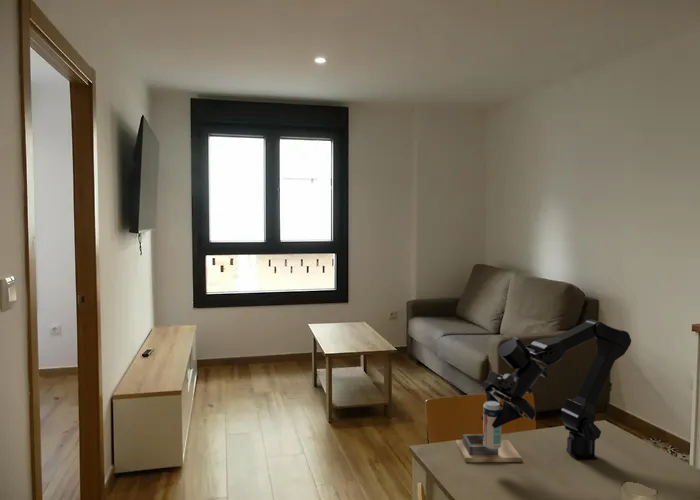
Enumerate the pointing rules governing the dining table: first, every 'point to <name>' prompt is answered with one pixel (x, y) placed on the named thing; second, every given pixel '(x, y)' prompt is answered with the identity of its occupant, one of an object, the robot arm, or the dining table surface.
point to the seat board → (485, 450)
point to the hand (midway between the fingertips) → (487, 423)
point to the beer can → (489, 432)
